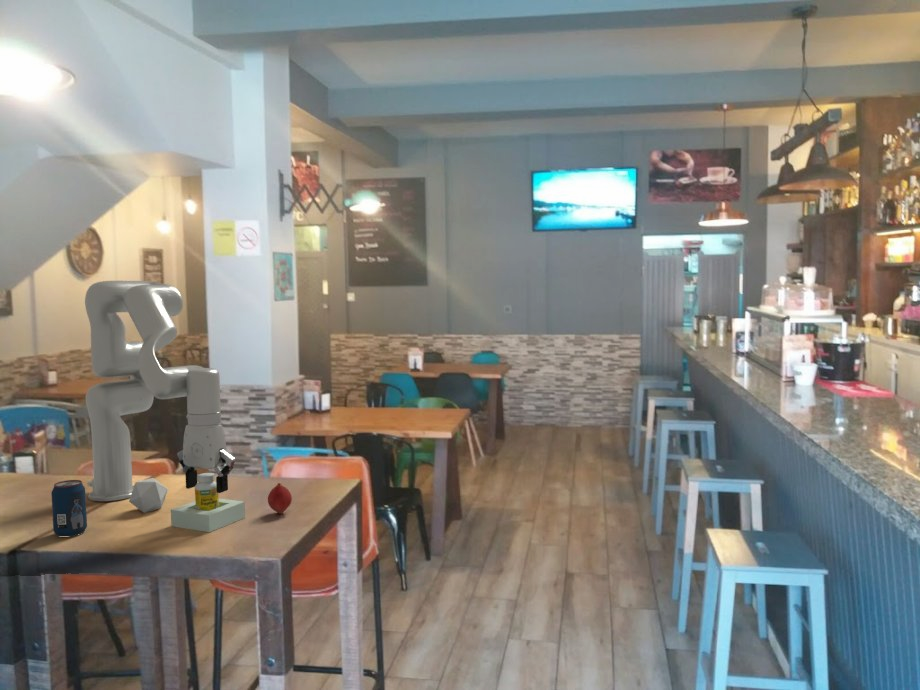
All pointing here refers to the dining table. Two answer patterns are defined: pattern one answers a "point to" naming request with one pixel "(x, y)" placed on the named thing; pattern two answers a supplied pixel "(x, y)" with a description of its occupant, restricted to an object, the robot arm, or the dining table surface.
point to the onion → (279, 498)
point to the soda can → (69, 508)
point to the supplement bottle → (206, 492)
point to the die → (148, 495)
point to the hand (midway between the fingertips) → (206, 489)
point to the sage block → (208, 515)
